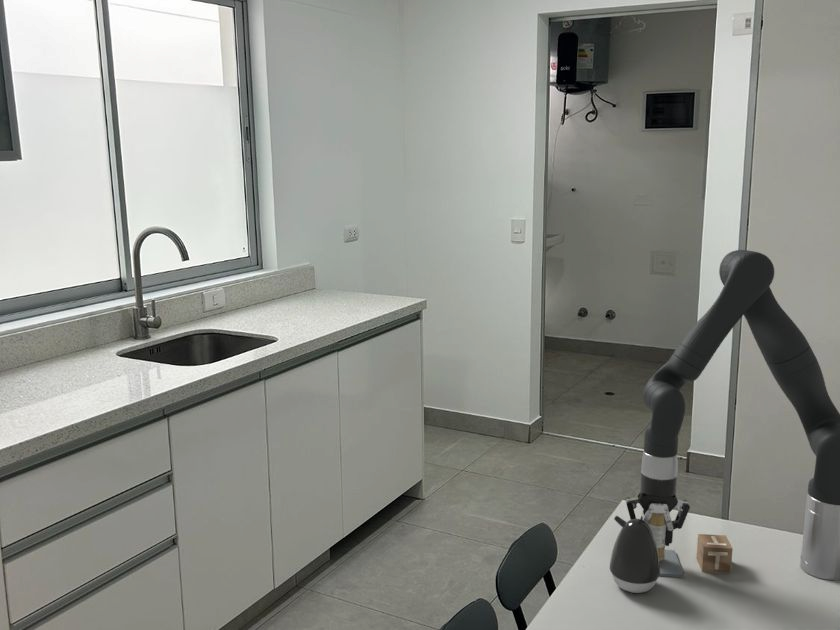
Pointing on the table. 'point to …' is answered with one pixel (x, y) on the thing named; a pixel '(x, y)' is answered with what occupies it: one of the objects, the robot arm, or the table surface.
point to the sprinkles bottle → (658, 528)
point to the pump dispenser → (635, 557)
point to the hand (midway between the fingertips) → (654, 543)
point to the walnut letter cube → (714, 553)
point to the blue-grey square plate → (670, 565)
